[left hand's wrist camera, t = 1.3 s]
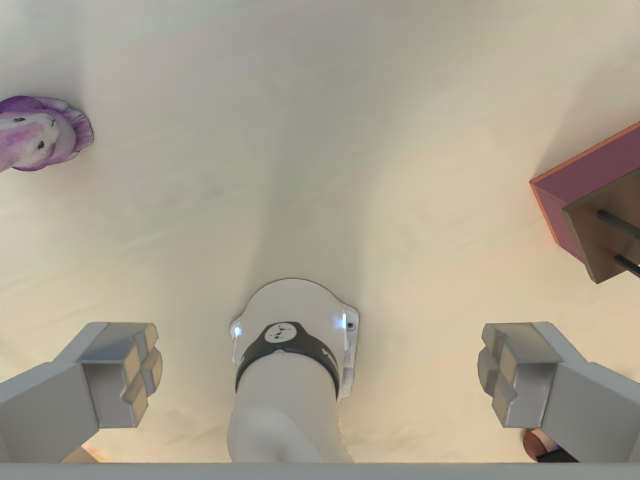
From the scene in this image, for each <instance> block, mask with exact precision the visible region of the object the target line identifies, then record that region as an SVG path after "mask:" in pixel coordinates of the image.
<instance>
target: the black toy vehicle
mask: <svg viewBox="0 0 640 480" xmlns="http://www.w3.org/2000/svg"><path fill="white" fill-rule="evenodd" d="M523 445H524V449H525V451H526V453H527V454H528V455H529V456H530V457H531V458H532V459H533V460H535V461H537V462H538V463H580V462H579V461H578V460H577V459H575V458H574V457H573V456H572V455H570V454H569V453H568V452H567V451H566V450H564V449H563V448H562V447H561V446H559V445H558V444H557V443H556V442H554V441H553V440H552V439H551V438H550V437H548V436H547V435H546V434H545V433H543V432H542V431H541V429H538V428H534V429H531V430H529V431H528V432H527V433H526V434H525V436H524V439H523Z"/></svg>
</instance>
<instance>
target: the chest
mask: <svg viewBox="0 0 640 480" xmlns="http://www.w3.org/2000/svg"><path fill="white" fill-rule="evenodd" d="M638 168H640V122H638V123H636V124H634V125H633V126H631V127H629V128H627V129H625V130H623V131H622V132H620V133H618V134H616V135H614V136H612V137H610V138H609V139H607V140H605V141H603V142H601V143H599V144H598V145H596V146H594V147H592V148H590V149H588V150H587V151H585V152H583V153H581V154H579V155H577V156H575V157H574V158H572V159H570V160H568V161H566V162H564V163H563V164H561V165H559V166H557V167H555V168H553V169H552V170H550V171H548V172H546V173H544V174H542V175H541V176H539V177H537V178H535V179H533V180H531V181H529V183H530V185H531V187H532V189H533V192H534V194H535V196H536V198H537V201H538V203H539V205H540V208H541V210H542V212H543V214H544V217H545V219H546V221H547V223H548V226H549V228H550V230H551V232H552V235H553V237H554V239H555V241H556V244H558V245H559V246H560V247H562V248H564V249H565V250H566V251H567V252H569V253H570V254H571V255H573V256H574V257H575V258H577V259H578V260H579V261H581V262H582V263H583V264H584V262H583V260H582V257H581V255H580V252H579V250H578V248H577V245H576V243H575V241H574V238H573V236H572V234H571V231H570V229H569V227H568V224H567V222H566V219H565V217H564V215H563V212H562V210H561V209H562V208H563V207H565V206H567V205H569V204H571V203H573V202H575V201H577V200H579V199H581V198H583V197H584V196H586V195H588V194H590V193H592V192H594V191H596V190H598V189H600V188H602V187H604V186H606V185H608V184H609V183H611V182H613V181H615V180H617V179H619V178H621V177H623V176H625V175H627V174H629V173H631V172H632V171H634V170H636V169H638Z"/></svg>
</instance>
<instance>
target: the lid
mask: <svg viewBox="0 0 640 480" xmlns="http://www.w3.org/2000/svg"><path fill="white" fill-rule="evenodd" d="M561 210H562V212H563V215H564V217H565V219H566V222H567V224H568V227H569V229H570V231H571V234H572V236H573V238H574V241H575V243H576V245H577V248H578V250H579V252H580V255H581V257H582V260H583V262H584V264H585V267H586V269H587V271H588V274H589V276H590V278H591V280H593V281H594V282H595V283H596V284H599V283H601V282H603V281H605V280H607V279H609V278H612V277H614V276H616V275H618V274H620V273H622V272H624V271H626V270H628V271H630V272H631V273H633V274H634V275H636V276H637V277H639V278H640V267H639V266H638V265H639V264H640V168H638V169H636V170H634V171H632V172H631V173H629V174H627V175H625V176H623V177H621V178H619V179H617V180H615V181H613V182H611V183H609V184H608V185H606V186H604V187H602V188H600V189H598V190H596V191H594V192H592V193H590V194H588V195H586V196H584V197H583V198H581V199H579V200H577V201H575V202H573V203H571V204H569V205H567V206H565V207H563V208H562V209H561Z"/></svg>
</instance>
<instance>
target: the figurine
mask: <svg viewBox="0 0 640 480" xmlns="http://www.w3.org/2000/svg"><path fill="white" fill-rule="evenodd" d="M89 124H90V123H89V121H88V120H87V117H86V116H85V115H84V114H83V113H81V112H79V111H76V110H73V109H71V108H70V107H69V105H68V104H67V103H65V102H63V101H61V100H56V99H51V98H41V97H28V96H15V97H11V98H8V99H5V100H3V101H1V102H0V173H1V172H3V171H5V170H7V169H9V168H11V167H12V168H14V169H17V170H21V171H36V170H39V169H42V168H44V167H45V166H47V165H53V164H57V163H62V162H65V161H68V160H70V159H73V158H74V157H75V156H77V154H78V153H79V152H80V150H81V149H83V148H85V147H87V146H89V145H90V144H91V143H92V142H93V134H92V132H91V131H92V130H91V127H90V125H89Z"/></svg>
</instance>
